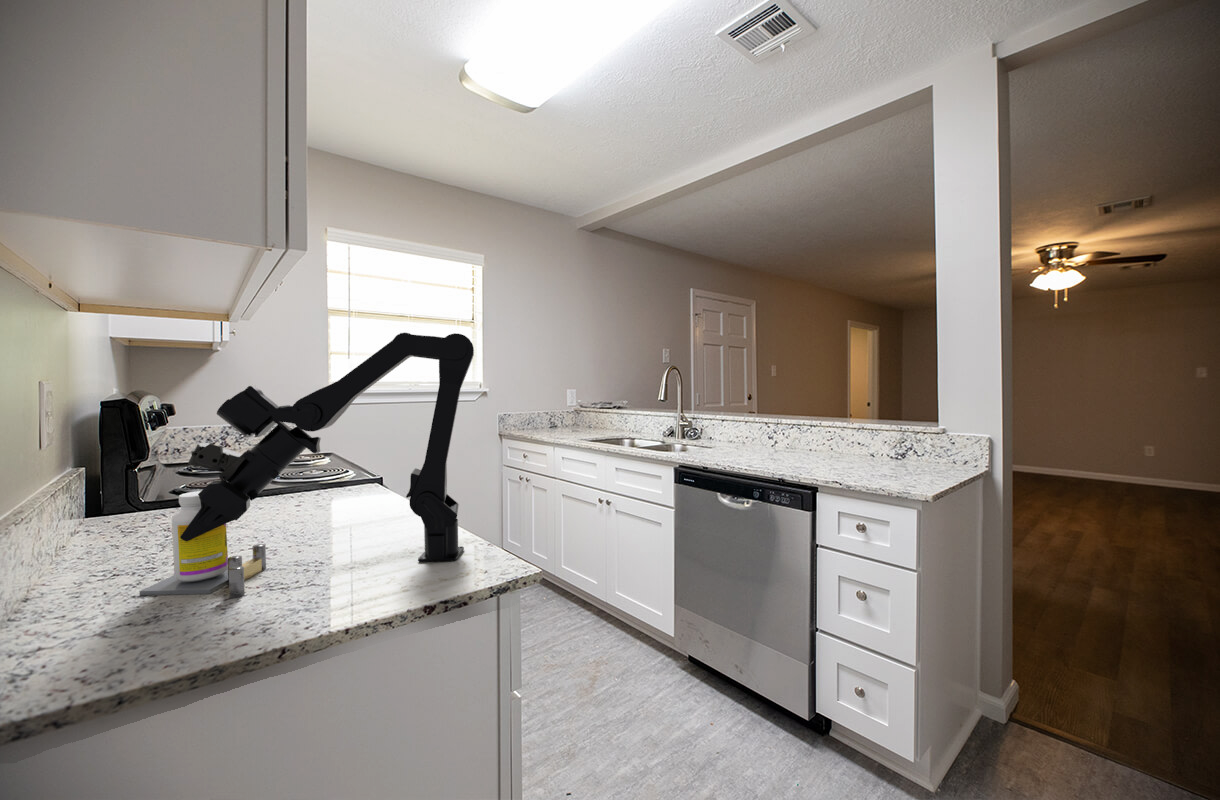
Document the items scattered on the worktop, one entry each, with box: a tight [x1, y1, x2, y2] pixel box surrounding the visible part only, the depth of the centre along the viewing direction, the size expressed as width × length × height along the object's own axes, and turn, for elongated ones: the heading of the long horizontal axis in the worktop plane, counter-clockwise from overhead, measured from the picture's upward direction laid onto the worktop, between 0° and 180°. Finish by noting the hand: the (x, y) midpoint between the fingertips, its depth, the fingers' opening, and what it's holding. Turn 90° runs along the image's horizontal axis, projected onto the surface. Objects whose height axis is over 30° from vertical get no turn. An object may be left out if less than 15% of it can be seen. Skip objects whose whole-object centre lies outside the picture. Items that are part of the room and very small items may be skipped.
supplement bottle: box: [171, 490, 229, 582], centre depth 81 cm, size 7×7×13 cm
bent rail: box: [227, 543, 267, 599], centre depth 81 cm, size 13×5×4 cm, turn 2°
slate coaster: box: [138, 568, 228, 596], centre depth 82 cm, size 10×10×1 cm
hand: (189, 533), depth 81 cm, fingers closed on supplement bottle, 7 cm apart
